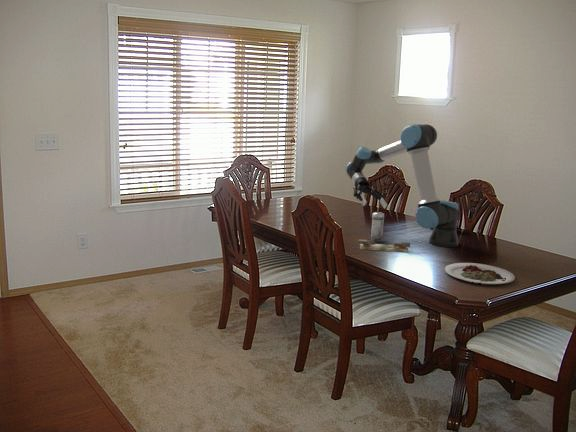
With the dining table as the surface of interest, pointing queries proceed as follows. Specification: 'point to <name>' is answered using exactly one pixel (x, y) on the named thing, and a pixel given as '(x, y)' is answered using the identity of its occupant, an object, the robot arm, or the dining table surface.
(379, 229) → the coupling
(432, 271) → the dining table surface
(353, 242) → the dining table surface
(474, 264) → the plated food
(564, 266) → the dining table surface
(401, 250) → the shaft bench
